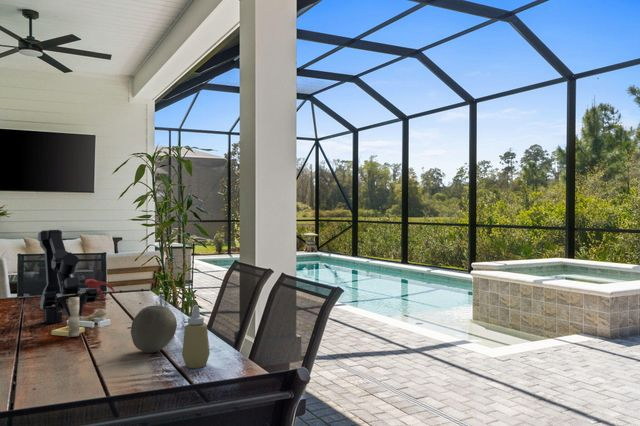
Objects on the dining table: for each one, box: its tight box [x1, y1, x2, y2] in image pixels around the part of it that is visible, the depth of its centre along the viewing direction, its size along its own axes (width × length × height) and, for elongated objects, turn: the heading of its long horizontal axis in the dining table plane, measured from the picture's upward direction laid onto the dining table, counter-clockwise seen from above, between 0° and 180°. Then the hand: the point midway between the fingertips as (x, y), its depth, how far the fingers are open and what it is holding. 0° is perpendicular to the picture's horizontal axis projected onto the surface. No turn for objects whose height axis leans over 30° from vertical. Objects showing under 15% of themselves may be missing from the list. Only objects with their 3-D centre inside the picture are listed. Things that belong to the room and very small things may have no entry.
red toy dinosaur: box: [83, 278, 115, 297], centre depth 282 cm, size 28×9×15 cm
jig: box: [51, 316, 111, 337], centre depth 204 cm, size 16×23×2 cm
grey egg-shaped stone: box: [130, 305, 178, 354], centre depth 169 cm, size 14×14×15 cm
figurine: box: [67, 308, 107, 326], centre depth 212 cm, size 4×4×15 cm
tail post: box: [68, 297, 80, 338], centre depth 189 cm, size 4×4×14 cm
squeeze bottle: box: [181, 304, 211, 369], centre depth 152 cm, size 8×8×18 cm
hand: (74, 315), depth 188 cm, fingers closed on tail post, 4 cm apart
